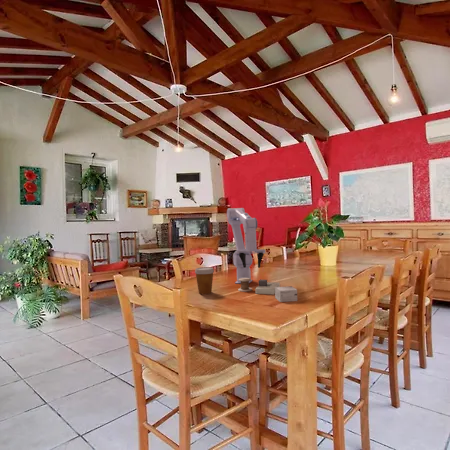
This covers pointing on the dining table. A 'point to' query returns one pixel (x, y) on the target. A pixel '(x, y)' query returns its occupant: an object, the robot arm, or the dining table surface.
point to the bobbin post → (244, 285)
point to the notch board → (267, 288)
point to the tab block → (263, 283)
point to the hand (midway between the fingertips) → (251, 267)
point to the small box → (285, 294)
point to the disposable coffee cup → (204, 279)
